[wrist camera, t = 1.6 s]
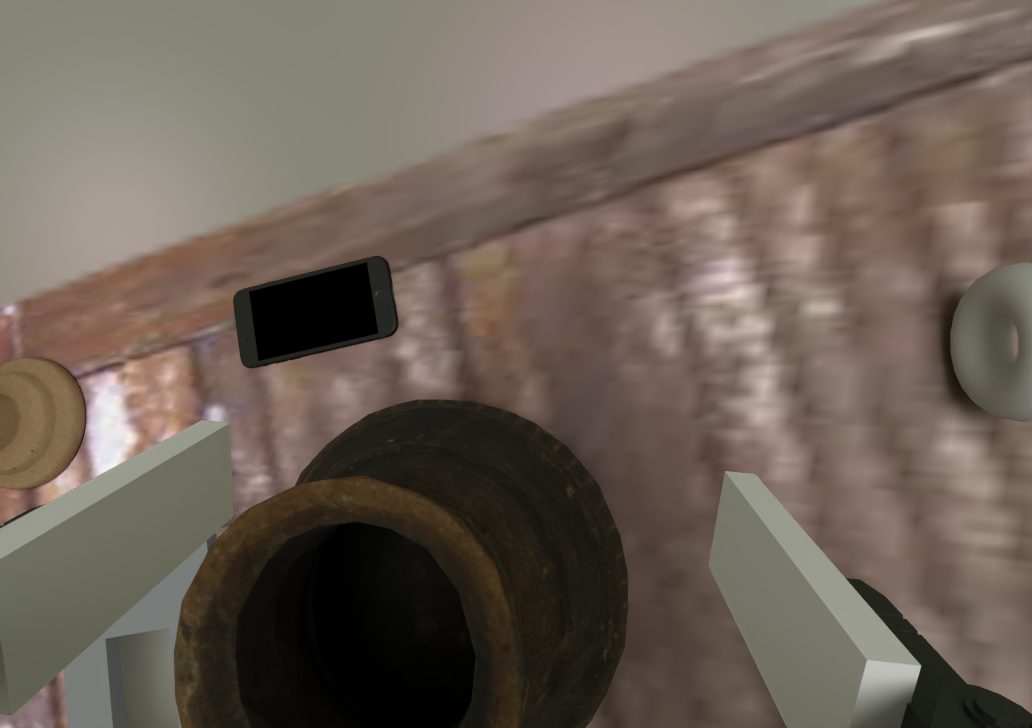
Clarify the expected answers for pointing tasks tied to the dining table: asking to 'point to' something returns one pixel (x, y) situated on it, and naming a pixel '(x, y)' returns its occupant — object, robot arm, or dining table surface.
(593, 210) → the dining table surface
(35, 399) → the candle holder
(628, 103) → the dining table surface
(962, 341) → the donut
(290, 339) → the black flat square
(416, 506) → the ceramic pot
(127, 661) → the box
